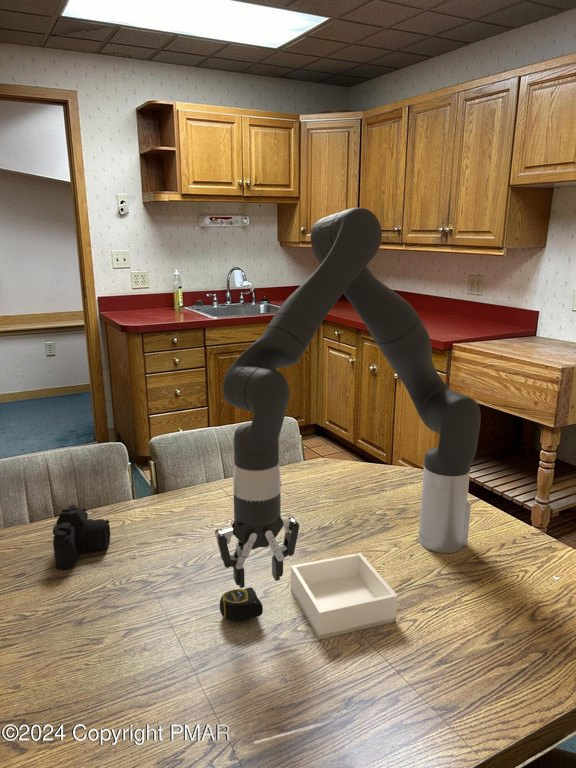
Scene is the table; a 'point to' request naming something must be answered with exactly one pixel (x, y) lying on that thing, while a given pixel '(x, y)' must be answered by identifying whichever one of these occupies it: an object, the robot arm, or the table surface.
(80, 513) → the film camera
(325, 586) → the bin
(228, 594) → the tape measure
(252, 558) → the table surface
